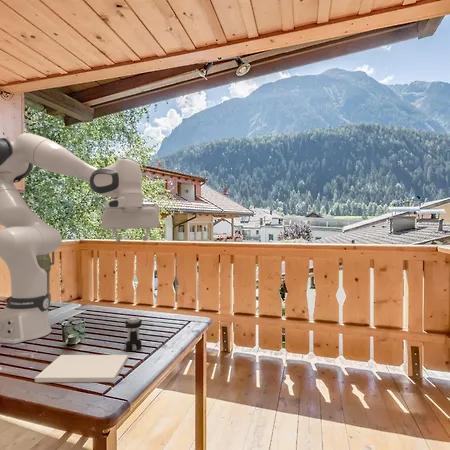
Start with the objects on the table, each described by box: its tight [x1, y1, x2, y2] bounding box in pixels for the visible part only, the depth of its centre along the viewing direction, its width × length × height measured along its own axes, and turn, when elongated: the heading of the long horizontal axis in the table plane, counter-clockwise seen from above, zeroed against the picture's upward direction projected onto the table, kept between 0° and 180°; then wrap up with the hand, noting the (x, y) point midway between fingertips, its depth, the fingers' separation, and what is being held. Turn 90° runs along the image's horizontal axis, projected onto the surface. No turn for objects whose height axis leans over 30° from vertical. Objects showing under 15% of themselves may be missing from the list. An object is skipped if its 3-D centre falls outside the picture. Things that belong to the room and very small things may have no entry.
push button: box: [120, 316, 143, 352], centre depth 105 cm, size 7×5×10 cm
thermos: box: [36, 251, 55, 309], centre depth 152 cm, size 9×12×35 cm
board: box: [34, 354, 129, 383], centre depth 90 cm, size 20×14×1 cm
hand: (131, 241), depth 118 cm, fingers open, 8 cm apart
